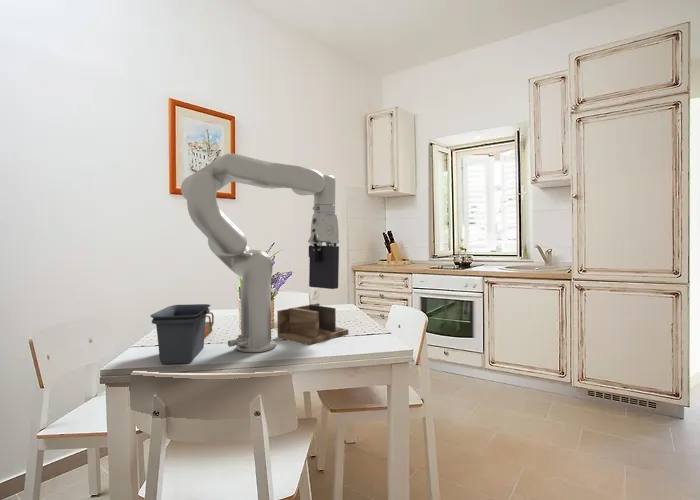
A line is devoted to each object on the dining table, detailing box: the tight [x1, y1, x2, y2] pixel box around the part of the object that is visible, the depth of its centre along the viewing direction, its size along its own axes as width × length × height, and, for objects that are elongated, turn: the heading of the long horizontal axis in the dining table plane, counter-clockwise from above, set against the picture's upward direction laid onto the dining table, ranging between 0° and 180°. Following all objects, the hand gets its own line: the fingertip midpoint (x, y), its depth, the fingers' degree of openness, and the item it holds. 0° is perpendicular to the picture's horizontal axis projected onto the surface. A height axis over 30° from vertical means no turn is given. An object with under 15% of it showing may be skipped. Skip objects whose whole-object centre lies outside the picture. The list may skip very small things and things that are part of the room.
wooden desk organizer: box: [276, 302, 349, 346], centre depth 151 cm, size 20×16×10 cm
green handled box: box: [204, 321, 213, 340], centre depth 150 cm, size 8×16×4 cm, turn 5°
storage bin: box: [149, 303, 215, 365], centre depth 126 cm, size 21×16×14 cm
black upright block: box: [308, 244, 340, 290], centre depth 149 cm, size 11×4×15 cm, turn 56°
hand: (323, 261), depth 149 cm, fingers closed on black upright block, 4 cm apart
